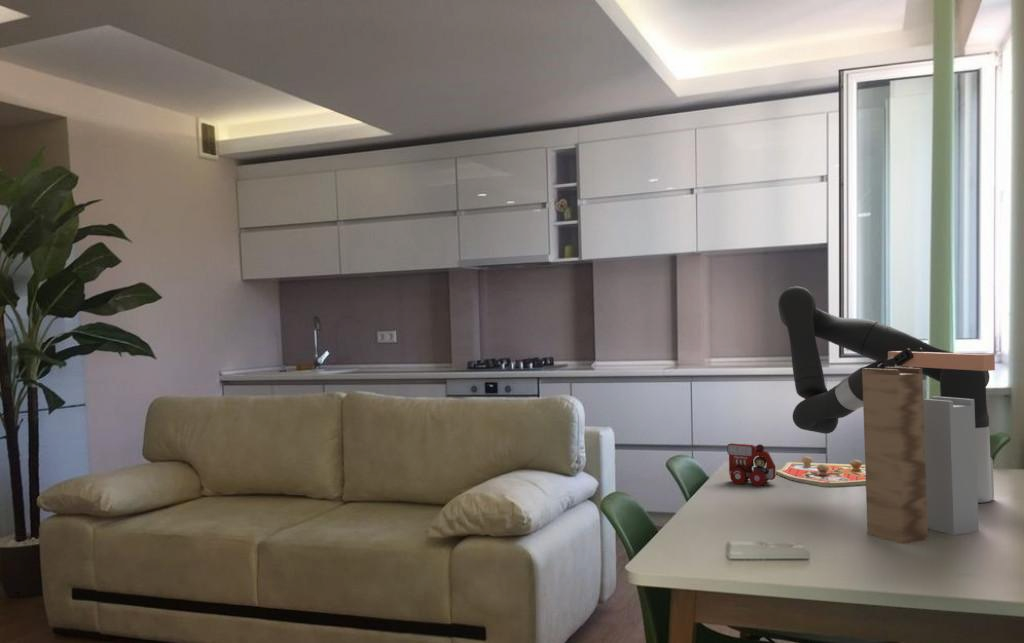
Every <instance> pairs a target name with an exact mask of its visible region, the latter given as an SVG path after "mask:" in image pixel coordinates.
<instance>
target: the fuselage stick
mask: <svg viewBox="0 0 1024 643" xmlns="http://www.w3.org/2000/svg"><path fill="white" fill-rule="evenodd" d="M901 352H902V351H889V352H888V359H889V358H890V357H891V356H896V355H897V354H899V353H901ZM912 354H913V358H912V359H911V360H909V361H907V362H906V363H904V364H903V365H899V366H907V367H925V368H942V369H960V370H977V371H988V372H989V371H996V368H995V367H996V365H995V364H996V360H995V358H996V356H995V354H992V353H991V354H986V353H962V352H953V353H936V352H912Z"/></svg>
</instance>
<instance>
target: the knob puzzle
mask: <svg viewBox="0 0 1024 643" xmlns="http://www.w3.org/2000/svg"><path fill="white" fill-rule="evenodd" d="M801 461H802V462H796V461H792V462H791V461H789V462H786V463H785V465H784V466H783V467H781V469H775V472H776V473H777V474H779V475H781V476H783V477H782V478H784V477H785V478H784V479H786V478H787V480H789V479H790V480H789V481H792V480H794V481H793V482H797V481H798V482H797V483H801V482H803V483H802V484H807V483H808V484H807V485H812V486H819V487H823V488H824V487H825V488H840V487H841V488H843V487H844V488H845V487H858V486H860V487H861V486H866V472H865V464H863V463H862V461H861V460H859V459H851V461H850V463H849V464H848V463H822V462H813V458H812V457H811V456H807V455H806V456H803V457H801ZM792 464H804V465H792ZM777 474H776V475H777ZM779 475H778V476H779ZM781 476H780V477H781Z"/></svg>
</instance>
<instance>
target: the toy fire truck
mask: <svg viewBox="0 0 1024 643" xmlns="http://www.w3.org/2000/svg"><path fill="white" fill-rule="evenodd" d="M726 451H727V454H728V473H729V476H730V480H731V482H732V483H733V484H735V485H742V484H743V483H745V482H746V481H748V480H749V481H750V483H751V484H752V485H753V486H755V485H758V486H757V487H760V486H762V485H764V484H765V483H766V482H768V481H769V480H770V481H772V480H774V479H775V478H776V475H777V474H776V464H775V463H774V461H773V459H772V456H771V454H770V452H769V451H767V450H765V447H764V445H763V444H761V443H759V444H757V445H756V446H755V445H753V444H746V443H744V444H743V443H734V442H733V443H729V444H727V446H726Z"/></svg>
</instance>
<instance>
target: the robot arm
mask: <svg viewBox="0 0 1024 643" xmlns="http://www.w3.org/2000/svg"><path fill="white" fill-rule="evenodd" d="M777 305H778V312H779V317H780V321H781V322H782V323H783V325H785V327H786V328H787V333H788V338H789V345H790V352H791V354H790V355H791V364H792V373H793V378H794V380H793V381H794V386H795V391H796V394H797V395H798V396H799V397H801V398H802V399H803V400H801V401H800V402H799V403H798V404H796V405H795V407H794V409H793V412H792V422H793V423H794V425H795V426H796V427H797V428H799V429H800V430H804V431H809V432H813V433H819V434H824V435H825V434H827V435H828V434H831V433H833V432H834V431H835V430H836V428H837V427H838V423H839V419H843V418H845V417H846V416H848V415H851V414H852V413H854V412H855V411H857V410H859V409H861V408H863V380H862V368H872V369H884V367H902V368H922V375H923V376H926V377H929V378H931V379H933V380H935V381H937V382H939V392H940V397H951V398H964V399H974V404H975V434H976V463H977V493H978V504H979V503H981V504H983V503H989V502H991V501H992V500H995V486H994V460H993V458H992V457H991V442H990V441H991V440H990V438H991V437H990V417H989V416H990V415H989V412H988V406H987V386H988V385H989V381H990V372H989V371H977V370H960V369H942V368H925V367H907V366H899V365H903V364H904V363H906V362H907V361H909V360H911V359H912V358H913V354H912V352H936V353H954V352H953V351H949V350H946V349H943V348H939V347H936V346H933V345H931V344H929V343H927V342H925V341H923V340H921V339H918V338H917V337H914V336H912V335H910V334H908V333H906V332H903V331H901V330H898V329H896V328H893V327H892V326H889V325H886V324H884V323H882V322H879V321H876V320H872V319H868V318H853V317H852V318H850V317H849V318H848V317H847V318H846V317H839V316H837V315H834V314H831V313H828V312H826V311H824V310H822V309H820V308H818V307H816V301H815V297H814V295H813V294H812V293H811V292H810V290H808V289H807V288H805V287H802V286H791V287H788V288H787V289H785V290H784V291H783V292H782V293H781V295H779V299H778V304H777ZM816 338H818V339H821V340H824V341H827V342H830V343H832V344H834V345H837V346H839V347H841V348H844V349H846V350H849V351H851V352H853V353H855V354H858V355H860V356H862V357H864V358H867V359H870V360H873V361H874V362H873V363H871V364H865V365H863V366H861V367H859V368H858V369H856V370H855V371H854V372H853V373H851V374H849V375H848V376H846V377H844V378H843V379H842V380H841V381H840V382H839V383H838V384H836V385H835V386H833V387H832V388H830V389H829V390H828V389H827V386H826V382H825V375H824V370H823V367H822V366H823V365H822V360H821V357H820V352H819V349H818V345H817V339H816ZM889 351H902V352H901V353H899V354H897V355H896V356H891V357H890V358H889V359H888V352H889Z"/></svg>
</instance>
